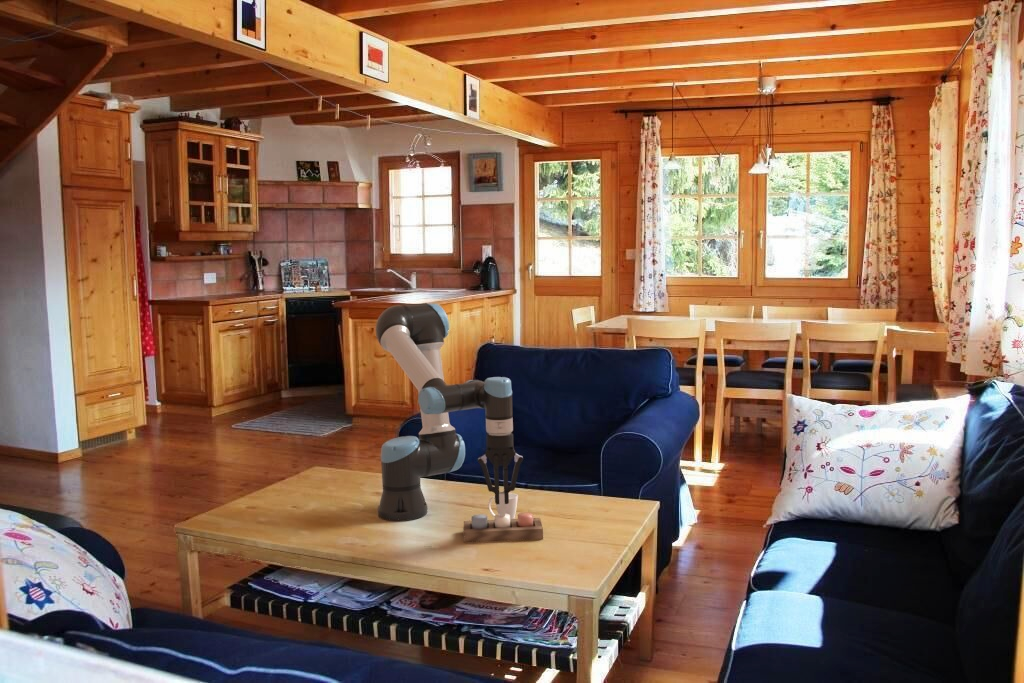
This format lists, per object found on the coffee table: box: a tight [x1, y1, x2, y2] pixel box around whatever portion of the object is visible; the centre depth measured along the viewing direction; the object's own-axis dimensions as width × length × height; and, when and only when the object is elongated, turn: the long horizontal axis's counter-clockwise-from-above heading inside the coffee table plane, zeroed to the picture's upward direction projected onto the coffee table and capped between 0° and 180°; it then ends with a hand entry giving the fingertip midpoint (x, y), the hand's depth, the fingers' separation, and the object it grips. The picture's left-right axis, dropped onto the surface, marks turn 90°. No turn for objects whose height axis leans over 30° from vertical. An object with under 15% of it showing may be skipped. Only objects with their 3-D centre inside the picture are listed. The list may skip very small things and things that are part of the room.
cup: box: [488, 492, 519, 519], centre depth 258 cm, size 7×10×8 cm
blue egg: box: [470, 514, 488, 529], centre depth 245 cm, size 4×4×4 cm
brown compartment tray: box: [463, 517, 544, 544], centre depth 246 cm, size 22×10×3 cm, turn 93°
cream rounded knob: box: [494, 513, 510, 528], centre depth 246 cm, size 4×4×4 cm
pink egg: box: [517, 512, 534, 527], centre depth 246 cm, size 4×4×4 cm
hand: (502, 515), depth 246 cm, fingers closed
